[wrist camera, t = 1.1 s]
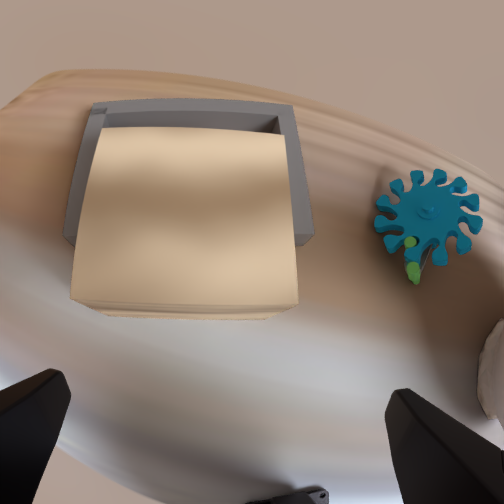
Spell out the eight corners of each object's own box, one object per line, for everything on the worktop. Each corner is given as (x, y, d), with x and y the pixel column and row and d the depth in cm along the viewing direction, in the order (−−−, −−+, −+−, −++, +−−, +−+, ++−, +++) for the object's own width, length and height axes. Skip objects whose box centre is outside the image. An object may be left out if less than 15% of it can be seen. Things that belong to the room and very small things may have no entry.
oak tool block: (264, 319, 22) (298, 304, 15) (109, 316, 20) (69, 298, 13) (258, 193, 25) (284, 135, 18) (122, 188, 23) (102, 128, 16)
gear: (392, 157, 27) (490, 174, 20) (403, 196, 31) (487, 216, 24) (348, 250, 24) (464, 287, 17) (364, 282, 28) (459, 316, 21)
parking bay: (303, 245, 24) (314, 233, 21) (74, 247, 20) (62, 235, 18) (284, 122, 27) (292, 105, 25) (98, 120, 24) (93, 103, 22)
